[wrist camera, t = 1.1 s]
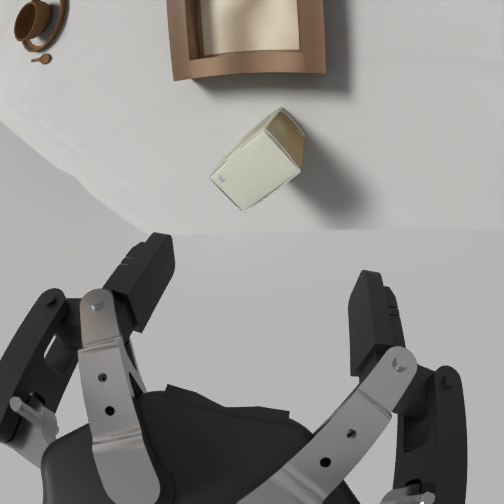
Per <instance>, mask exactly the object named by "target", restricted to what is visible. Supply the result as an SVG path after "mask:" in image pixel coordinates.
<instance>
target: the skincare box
mask: <svg viewBox="0 0 504 504" xmlns="http://www.w3.org/2000/svg"><path fill="white" fill-rule="evenodd" d="M305 136H306V134H305V133H304V132H303V130H302V129H301V128H300V126H299V125H298V124H297V123H296V122H295V120H294V119H293V118H292V117H291V116H290V115H289V114H288V112H287V111H286V110H285V109H284V108H282V107H280V108H279V109H277V110H276V111H275V112H273V113H272V114H271V115H269V116H268V117H267V118H266V119H264V120H263V121H262V122H261V123H260V124H258V125H257V126H256V127H255V128H254V129H253V130H251V131H250V132H249V133H248V134H247V135H246V136H245V137H244V138H243V139H242V140H241V141H240V142H239V143H238V144H237V145H236V146H235V147H234V148H233V149H232V151H231V152H230V153H229V154H228V155H227V156H226V157H225V158H224V159H223V160H222V161H221V162H220V164H219V165H218V166H217V167H216V168H215V169H214V170H213V171H212V173H211V174H210V175H209V176H208V178H209V179H210V180H211V181H212V182H213V183H214V184H215V185H216V186H217V187H218V188H219V190H220V191H221V192H222V193H223V194H224V195H225V196H226V197H227V198H228V199H229V200H230V201H231V202H232V203H233V204H234V205H235V206H236V207H238V208H239V209H240V210H241V211H242V212H243V213H245V212H247V211H248V210H250V209H251V208H253V207H254V206H256V205H257V204H259V203H260V202H262V201H263V200H264V199H266V198H267V197H269V196H270V195H271V194H273V193H274V192H275V191H277V190H278V189H279V188H281V187H282V186H283V185H285V184H286V183H287V182H289V181H290V180H291V179H293V178H294V177H295V176H296V175H298V174H299V173H300V172H301V167H302V160H303V152H304V144H305Z"/></svg>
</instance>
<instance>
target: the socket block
mask: <svg viewBox="0 0 504 504" xmlns="http://www.w3.org/2000/svg"><path fill="white" fill-rule="evenodd" d="M167 15H168V28H169V40H170V51H171V61H172V70H173V79H174V81H179V80H185V79H192V78H199V77H207V76H217V75H227V74H240V73H261V72H301V73H322V74H326V54H325V27H324V10H323V0H167Z"/></svg>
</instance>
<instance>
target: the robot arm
mask: <svg viewBox="0 0 504 504" xmlns="http://www.w3.org/2000/svg"><path fill="white" fill-rule="evenodd" d="M174 270H175V258H174V250H173V242H172V237H171V235H168V234H162V233H156V232H154V233H152V234H151V236H150V237H149V238H148V240H147V241H146V242H140V243H139V244H137V245H136V246H134V247H133V248H132V249H131V250H130V251H129V252H128V254H127V255H126V257H125V258H124V259H123V260H122V262H121V264H120V265H119V266H118V267H117V268H116V270H115V271H114V273H113V274H112V275H111V276H110V278H109V279H108V281H107V282H106V283H105V285H104V286H103V288H102V289H94V290H92V291H90V292H88V293H87V294H86V295H84V297H83V298H66V297H65V295H64V293H63V292H62V291H61V290H60V289H56V288H53V289H49V290H47V291H45V292H44V293H42V294H41V296H40V297H39V299H38V300H37V301H36V303H35V304H34V305H33V307H32V308H31V310H30V312H29V313H28V315H27V316H26V318H25V319H24V321H23V322H22V324H21V325H20V327H19V329H18V330H17V332H16V334H15V336H14V337H13V339H12V340H11V342H10V344H9V346H8V348H7V349H6V351H5V353H4V355H3V356H2V358H1V360H0V443H2V444H4V445H6V446H8V447H10V448H12V449H14V450H15V451H16V452H18V453H19V454H20V455H22V456H23V457H25V458H26V459H27V460H28V461H30V462H31V463H33V464H34V465H35V466H37V467H38V468H40V469H41V475H42V481H43V504H360V502H359V501H358V500H357V498H356V497H355V495H354V494H353V493H352V491H351V490H350V488H349V487H348V485H347V484H346V482H345V481H344V478H345V477H346V476H347V475H348V474H349V473H350V472H351V471H352V469H353V468H354V467H355V466H356V465H357V464H358V462H359V461H360V460H361V459H362V458H363V456H364V455H365V454H366V453H367V451H368V450H369V449H370V448H371V446H372V445H373V444H374V443H375V441H376V440H377V439H378V437H379V436H380V435H381V433H382V432H383V430H384V429H385V427H386V426H387V425H388V423H389V422H390V420H391V418H392V415H391V412H393V413H396V414H398V425H397V429H398V430H397V448H396V462H395V473H394V482H393V490H391V491H390V492H388V493H387V494H386V495H385V496H384V498H383V499H382V501H381V503H380V504H465V498H466V485H467V428H466V415H465V405H464V396H463V388H462V382H461V378H460V376H459V374H458V373H457V371H456V370H455V369H453V368H452V367H450V366H441V367H439V368H438V369H437V370H436V371H433V370H430V369H428V368H425V367H423V366H420V365H418V364H417V362H416V359H415V357H414V355H413V354H412V353H411V352H410V351H409V350H407V349H406V347H405V341H404V335H403V330H402V325H401V320H400V317H399V310H398V309H397V308H398V306H397V301H396V297H395V295H394V294H393V292H392V291H391V289H390V288H389V287H386V286H383V281H382V277H381V274H380V273H378V272H372V271H367V270H362V271H361V273H360V276H359V278H358V280H357V282H356V285H355V287H354V289H353V291H352V293H351V296H350V299H349V305H348V314H349V315H348V316H349V333H350V334H349V335H350V368H351V369H350V371H351V376H357V377H359V384H358V385H357V387H356V388H355V389H354V390H353V391H352V392H351V394H350V395H349V396H348V397H347V398H346V399H345V400H344V402H343V403H342V404H341V405H340V406H339V407H338V408H337V409H336V410H335V412H334V413H333V414H332V415H331V416H330V417H329V418H328V419H327V420H326V421H325V422H324V423H323V424H322V425H321V426H320V427H319V428H318V429H317V430H316V431H315V432H314V433H313V434H312V433H311V432H310V431H309V430H308V429H307V428H305V427H304V426H303V425H301V424H300V423H298V422H296V421H294V420H292V419H290V418H289V412H290V411H285V410H278V409H271V408H265V407H259V406H257V407H224V406H221V405H219V404H217V403H215V402H213V401H211V400H209V399H207V398H206V397H204V396H202V395H200V394H198V393H196V392H193V391H189V390H185V389H182V388H178V387H175V386H172V385H169V384H167V387H166V390H165V391H153V392H147V391H146V388H145V386H144V383H143V381H142V379H141V376H140V373H139V369H138V366H137V362H136V358H135V355H134V351H133V347H132V343H131V339H130V335H131V333H132V331H137V332H140V333H142V332H143V330H144V328H145V326H146V324H147V322H148V321H149V319H150V317H151V315H152V313H153V311H154V309H155V307H156V305H157V303H158V302H159V300H160V298H161V296H162V294H163V292H164V290H165V289H166V287H167V285H168V283H169V281H170V280H171V278H172V276H173V273H174ZM54 335H55V336H56V338H55V340H54V342H53V344H52V345H51V347H50V349H49V351H48V353H47V355H46V357H45V359H44V353H45V351H46V349H47V347H48V345H49V343H50V341H51V339H52V338H53V336H54ZM78 361H79V369H80V376H81V384H82V390H83V396H84V400H85V406H86V411H87V416H88V421H89V423H88V424H86V425H84V426H82V427H80V428H78V429H76V430H74V431H72V432H70V433H68V434H66V435H64V436H62V437H60V438H59V439H56V435H57V434H58V432H59V428H58V426H57V420H56V417H55V413H56V410H57V408H58V405H59V403H60V400H61V398H62V396H63V393H64V391H65V389H66V387H67V384H68V382H69V380H70V378H71V376H72V373H73V371H74V369H75V367H76V365H77V362H78Z"/></svg>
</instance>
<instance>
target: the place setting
mask: <svg viewBox="0 0 504 504" xmlns="http://www.w3.org/2000/svg"><path fill="white" fill-rule="evenodd" d="M64 13H65V0H60V12H59V17H58V20H57V23H56V26H55V28H54V31H53V33H52V34H51V36H50V38H49V39H48V41H47V42H46V43H45V44H44V45H42V46H35V45H33V44H32V43H31V41H30V39H33V38H35V37H37V36H38V35H40V34H41V33H42V31H43V30H44V29H45V27H46V26H47V25H48V23H49V21H50V17H51V12H50V8H49V6H48V4H47V3H45V2H42V1H40V0H32V1H31V2H29V3H27V4H26V5H25V6H24V7H23V8H22V9H21V10H20V12H19V14H18V16H17V18H16V22H15V27H14V34H15V37H16V39H17V40H18V41H22V44H23V46H24V48H25V49H26V50H27V51H29V52H36V51H39V50H41V49H43V48H45V47H46V46H47V45H48V44H49V43H50V42H51V41H52V40H53V38H54V37H55V36H56V34H57V32H58V30H59V28H60V26H61V24H62V21H63V18H64ZM49 60H50V56H49V55H48V54H43V55H42V56H41V57H40V58H38V59H32V60H31V62H35V61H40V62H41V63H42V64H46V63H47V62H48V61H49Z"/></svg>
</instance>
